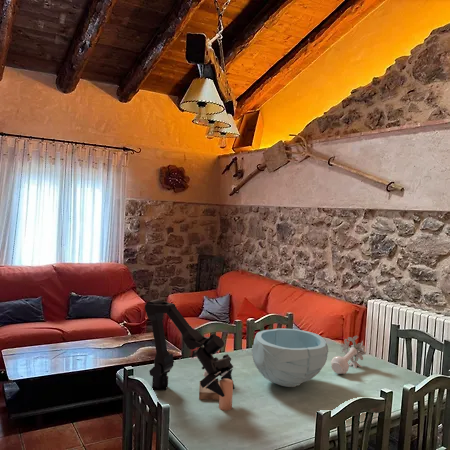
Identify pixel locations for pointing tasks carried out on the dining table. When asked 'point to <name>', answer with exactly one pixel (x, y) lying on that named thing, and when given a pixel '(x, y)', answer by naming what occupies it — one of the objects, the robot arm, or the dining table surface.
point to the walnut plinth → (207, 393)
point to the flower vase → (348, 356)
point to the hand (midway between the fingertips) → (229, 392)
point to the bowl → (289, 355)
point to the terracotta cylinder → (226, 394)
